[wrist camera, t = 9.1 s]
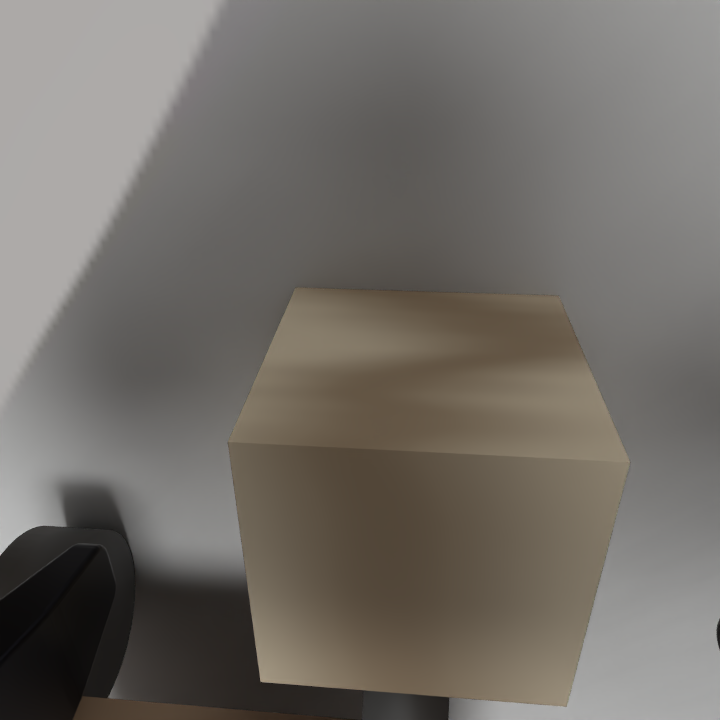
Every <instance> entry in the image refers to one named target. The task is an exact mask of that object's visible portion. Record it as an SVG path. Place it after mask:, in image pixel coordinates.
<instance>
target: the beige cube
mask: <svg viewBox="0 0 720 720" xmlns="http://www.w3.org/2000/svg"><path fill="white" fill-rule="evenodd" d="M228 447H229V454H230V462H231V469H232V476H233V484H234V491H235V498H236V506H237V513H238V520H239V527H240V535H241V542H242V549H243V557H244V564H245V571H246V579H247V586H248V593H249V600H250V608H251V615H252V622H253V630H254V637H255V644H256V652H257V659H258V666H259V673H260V681H261V682H268V683H280V684H292V685H305V686H317V687H329V688H342V689H354V690H366V691H379V692H391V693H403V694H416V695H428V696H440V697H453V698H465V699H478V700H490V701H502V702H515V703H527V704H539V705H552V706H564V707H567V703H568V700H569V696H570V692H571V688H572V684H573V680H574V677H575V673H576V669H577V665H578V661H579V657H580V654H581V650H582V646H583V642H584V638H585V634H586V630H587V627H588V623H589V619H590V615H591V611H592V607H593V604H594V600H595V596H596V592H597V588H598V584H599V581H600V577H601V573H602V569H603V565H604V561H605V558H606V554H607V550H608V546H609V542H610V538H611V535H612V531H613V527H614V523H615V519H616V515H617V511H618V508H619V504H620V500H621V496H622V492H623V488H624V485H625V481H626V477H627V473H628V469H629V465H630V460H629V458H628V456H627V453H626V451H625V449H624V446H623V444H622V442H621V439H620V437H619V435H618V433H617V430H616V428H615V426H614V423H613V421H612V419H611V416H610V414H609V412H608V409H607V407H606V405H605V402H604V400H603V398H602V395H601V393H600V391H599V388H598V386H597V384H596V381H595V379H594V377H593V374H592V372H591V370H590V367H589V365H588V363H587V360H586V358H585V356H584V354H583V351H582V349H581V347H580V344H579V342H578V340H577V337H576V335H575V333H574V330H573V328H572V326H571V323H570V321H569V319H568V316H567V314H566V312H565V309H564V307H563V305H562V302H561V300H560V298H559V296H554V295H522V294H490V293H458V292H425V291H393V290H361V289H329V288H295V290H294V292H293V294H292V297H291V299H290V301H289V303H288V306H287V308H286V310H285V313H284V315H283V317H282V319H281V322H280V324H279V326H278V329H277V331H276V333H275V335H274V338H273V340H272V342H271V345H270V347H269V349H268V351H267V354H266V356H265V358H264V361H263V363H262V365H261V367H260V370H259V372H258V374H257V376H256V379H255V381H254V383H253V386H252V388H251V390H250V392H249V395H248V397H247V399H246V402H245V404H244V406H243V408H242V411H241V413H240V415H239V418H238V420H237V422H236V424H235V427H234V429H233V431H232V433H231V436H230V438H229V440H228Z"/></svg>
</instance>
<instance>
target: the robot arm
mask: <svg viewBox="0 0 720 720" xmlns="http://www.w3.org/2000/svg"><path fill="white" fill-rule="evenodd" d="M115 594H116V580H115V576H114V573H113V569H112V566H111V562H110V559H109V555H108V552H107V550H106V548H105V547H104V546H103V545H100V544H87V543H78V544H75V545H73V546H72V547H70V548H69V549H67V550H66V551H65V552H63V553H62V554H61V555H59V556H58V557H57V558H55V559H54V560H53V561H51V562H50V563H49V564H47V565H46V566H44V567H43V568H42V569H40V570H39V571H38V572H36V573H35V574H34V575H32V576H31V577H30V578H28V579H27V580H26V581H24V582H23V583H22V584H20V585H19V586H18V587H16V588H15V589H14V590H12V591H11V592H10V593H8V594H7V595H6V596H4V597H3V598H2V599H0V720H73V718H74V715H75V713H76V711H77V708H78V706H79V703H80V701H81V698H82V696H83V693H84V690H85V687H86V684H87V682H88V678H89V675H90V672H91V669H92V666H93V663H94V660H95V657H96V654H97V651H98V648H99V645H100V642H101V639H102V636H103V632H104V629H105V626H106V623H107V620H108V617H109V614H110V611H111V608H112V605H113V602H114V599H115ZM717 641H718V645H719V649H720V619H719V622H718V625H717Z"/></svg>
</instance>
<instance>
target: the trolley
mask: <svg viewBox="0 0 720 720" xmlns="http://www.w3.org/2000/svg"><path fill="white" fill-rule="evenodd" d="M78 543H87V544H100V545H103V546H104V547H105V548H106V550H107V552H108V555H109V559H110V562H111V566H112V569H113V573H114V576H115V580H116V594H115V599H114V602H113V605H112V608H111V611H110V614H109V617H108V620H107V623H106V626H105V629H104V632H103V636H102V639H101V642H100V645H99V648H98V651H97V654H96V657H95V660H94V663H93V666H92V669H91V672H90V675H89V678H88V682H87V684H86V687H85V690H84V693H83V696H82V698H81V701H80V703H79V706H78V708H77V711H76V713H75V715H74V718H73V720H355V719H343V718H332V717H320V716H308V715H297V714H285V713H273V712H262V711H250V710H238V709H227V708H215V707H203V706H192V705H180V704H168V703H157V702H145V701H133V700H122V699H110V698H108V696H109V694H110V692H111V689H112V687H113V685H114V683H115V680H116V678H117V676H118V673H119V670H120V667H121V665H122V661H123V658H124V655H125V652H126V648H127V644H128V640H129V635H130V630H131V625H132V619H133V611H134V601H135V573H134V565H133V560H132V555H131V552H130V549H129V547H128V545H127V542H126V541H125V539H124V538H123V537H122V536H121V535H120V534H119V533H117V532H115V531H113V530H102V529H87V528H71V527H55V526H39V527H35V528H32V529H30V530H28V531H26V532H25V533H23V534H22V535H20V536H19V537H18V538H16V539H15V540H14V541H13V542H12V543H11V544H10V545H9V546H8V547H7V548H6V550H5V551H4V552H3V553H2V554H1V556H0V599H2V598H3V597H4V596H6V595H7V594H8V593H10V592H11V591H12V590H14V589H15V588H16V587H18V586H19V585H20V584H22V583H23V582H24V581H26V580H27V579H28V578H30V577H31V576H32V575H34V574H35V573H36V572H38V571H39V570H40V569H42V568H43V567H44V566H46V565H47V564H49V563H50V562H51V561H53V560H54V559H55V558H57V557H58V556H59V555H61V554H62V553H63V552H65V551H66V550H67V549H69V548H70V547H72V546H73V545H75V544H78ZM448 713H449V697H440V696H428V695H416V694H403V693H391V692H379V691H366V690H363V714H362V720H448Z"/></svg>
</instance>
